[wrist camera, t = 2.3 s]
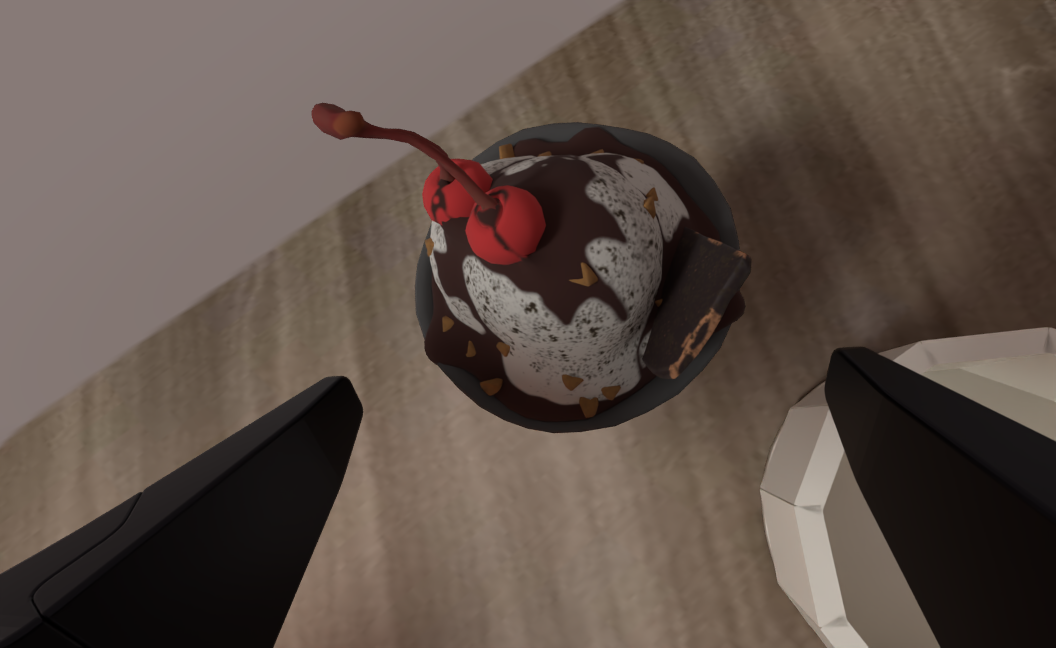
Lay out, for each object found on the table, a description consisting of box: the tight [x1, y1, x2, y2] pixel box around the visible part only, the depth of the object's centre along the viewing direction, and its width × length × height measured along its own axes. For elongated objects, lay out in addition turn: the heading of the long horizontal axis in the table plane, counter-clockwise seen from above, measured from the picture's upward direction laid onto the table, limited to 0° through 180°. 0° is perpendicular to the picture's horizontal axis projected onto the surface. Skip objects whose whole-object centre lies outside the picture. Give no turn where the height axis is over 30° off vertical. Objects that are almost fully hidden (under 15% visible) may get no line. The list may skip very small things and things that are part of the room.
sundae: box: [312, 103, 752, 433], centre depth 12 cm, size 7×7×15 cm
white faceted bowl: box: [760, 327, 1056, 648], centre depth 13 cm, size 11×11×4 cm
